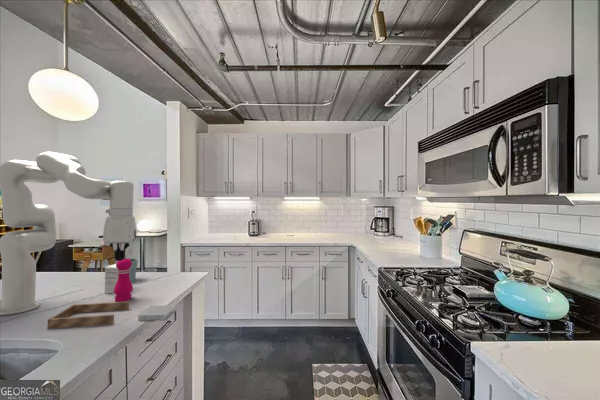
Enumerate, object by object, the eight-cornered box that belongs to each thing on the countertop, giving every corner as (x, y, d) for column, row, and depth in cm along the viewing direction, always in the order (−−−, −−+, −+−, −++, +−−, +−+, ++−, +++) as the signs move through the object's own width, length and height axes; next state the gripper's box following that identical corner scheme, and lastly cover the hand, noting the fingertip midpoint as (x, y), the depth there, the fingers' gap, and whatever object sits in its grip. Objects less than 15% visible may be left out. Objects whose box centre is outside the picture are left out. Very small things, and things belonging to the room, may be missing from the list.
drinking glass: (121, 279, 150) (122, 258, 151) (140, 279, 151) (141, 257, 152) (111, 284, 140) (111, 262, 140) (131, 284, 141) (132, 261, 142)
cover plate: (138, 322, 99) (138, 315, 99) (150, 312, 108) (150, 305, 108) (165, 321, 99) (165, 315, 99) (175, 311, 108) (175, 305, 108)
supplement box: (115, 288, 134) (115, 263, 135) (129, 288, 134) (129, 263, 134) (103, 293, 127) (104, 266, 127) (118, 293, 127) (119, 267, 127)
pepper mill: (123, 303, 115) (124, 256, 116) (109, 301, 117) (110, 256, 117) (136, 297, 122) (137, 253, 123) (123, 296, 124) (124, 253, 124)
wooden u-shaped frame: (47, 328, 91) (47, 319, 91) (73, 312, 105) (73, 304, 105) (112, 324, 96) (112, 315, 96) (129, 308, 109) (129, 301, 109)
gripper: (94, 213, 98) (92, 262, 98) (138, 213, 101) (137, 262, 101) (104, 212, 105) (103, 258, 105) (145, 212, 108) (144, 258, 108)
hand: (119, 260), depth 103 cm, fingers closed
